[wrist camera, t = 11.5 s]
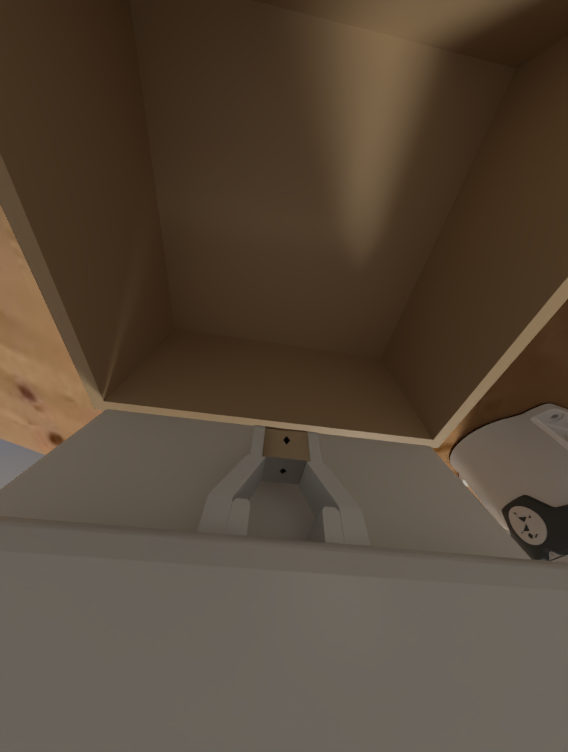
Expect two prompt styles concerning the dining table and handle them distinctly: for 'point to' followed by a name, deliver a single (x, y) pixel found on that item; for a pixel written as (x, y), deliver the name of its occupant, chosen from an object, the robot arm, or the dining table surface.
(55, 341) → the dining table surface
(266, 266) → the carton
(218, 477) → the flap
